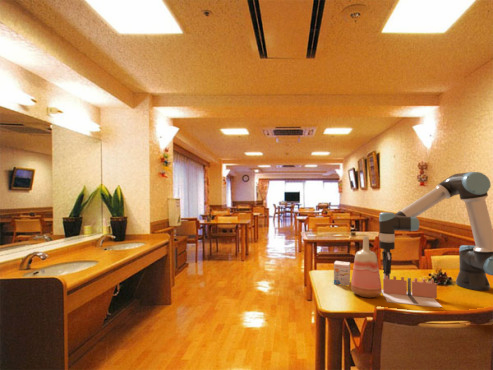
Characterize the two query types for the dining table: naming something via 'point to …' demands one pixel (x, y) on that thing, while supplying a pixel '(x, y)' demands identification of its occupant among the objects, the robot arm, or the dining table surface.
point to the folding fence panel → (395, 286)
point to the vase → (366, 272)
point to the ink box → (342, 273)
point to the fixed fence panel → (422, 288)
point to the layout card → (411, 299)
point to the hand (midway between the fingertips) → (386, 285)
